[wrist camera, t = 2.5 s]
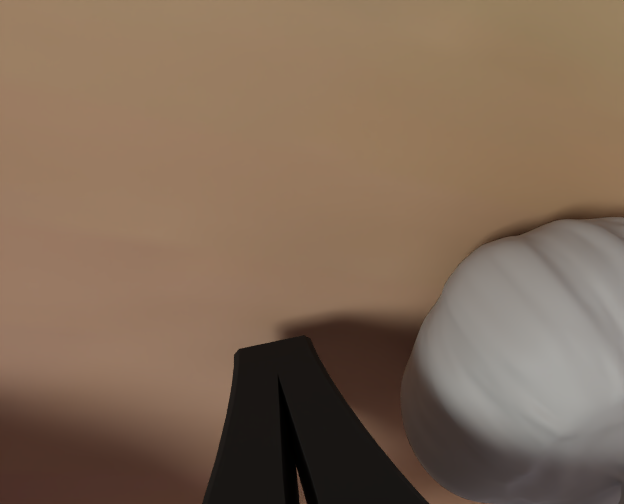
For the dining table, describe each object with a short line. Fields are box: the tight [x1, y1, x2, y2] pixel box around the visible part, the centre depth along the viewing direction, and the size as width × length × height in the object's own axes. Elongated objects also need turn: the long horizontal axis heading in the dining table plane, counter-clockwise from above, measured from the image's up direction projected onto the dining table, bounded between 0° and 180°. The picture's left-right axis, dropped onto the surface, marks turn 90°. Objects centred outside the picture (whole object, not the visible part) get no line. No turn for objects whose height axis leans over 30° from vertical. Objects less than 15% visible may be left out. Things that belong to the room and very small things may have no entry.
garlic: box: [401, 217, 624, 504], centre depth 10 cm, size 6×5×5 cm
